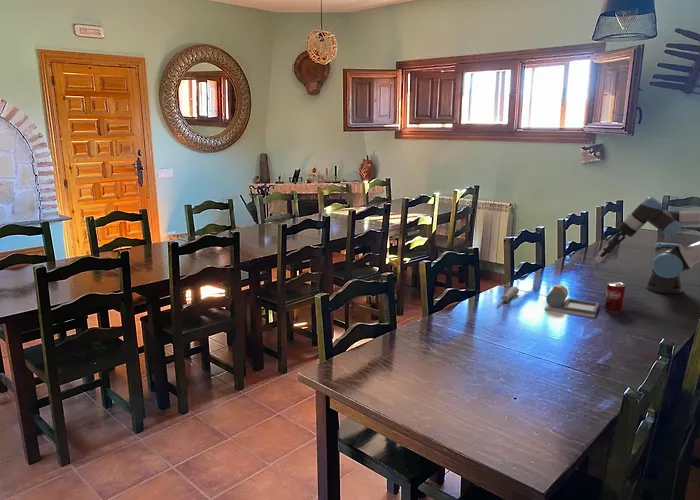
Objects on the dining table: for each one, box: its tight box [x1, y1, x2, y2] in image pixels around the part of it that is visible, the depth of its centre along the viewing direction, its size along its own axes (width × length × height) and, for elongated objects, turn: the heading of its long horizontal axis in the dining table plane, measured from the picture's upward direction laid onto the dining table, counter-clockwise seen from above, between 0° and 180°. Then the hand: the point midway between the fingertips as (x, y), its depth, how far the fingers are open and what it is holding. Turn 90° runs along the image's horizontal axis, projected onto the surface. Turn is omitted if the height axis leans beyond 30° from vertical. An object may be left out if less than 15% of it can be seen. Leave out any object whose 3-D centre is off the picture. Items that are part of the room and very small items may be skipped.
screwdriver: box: [496, 286, 519, 307], centre depth 241 cm, size 5×25×4 cm, turn 143°
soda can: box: [604, 281, 626, 314], centre depth 225 cm, size 7×7×12 cm
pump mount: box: [544, 283, 600, 319], centre depth 229 cm, size 20×16×9 cm
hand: (598, 258), depth 253 cm, fingers open, 13 cm apart
